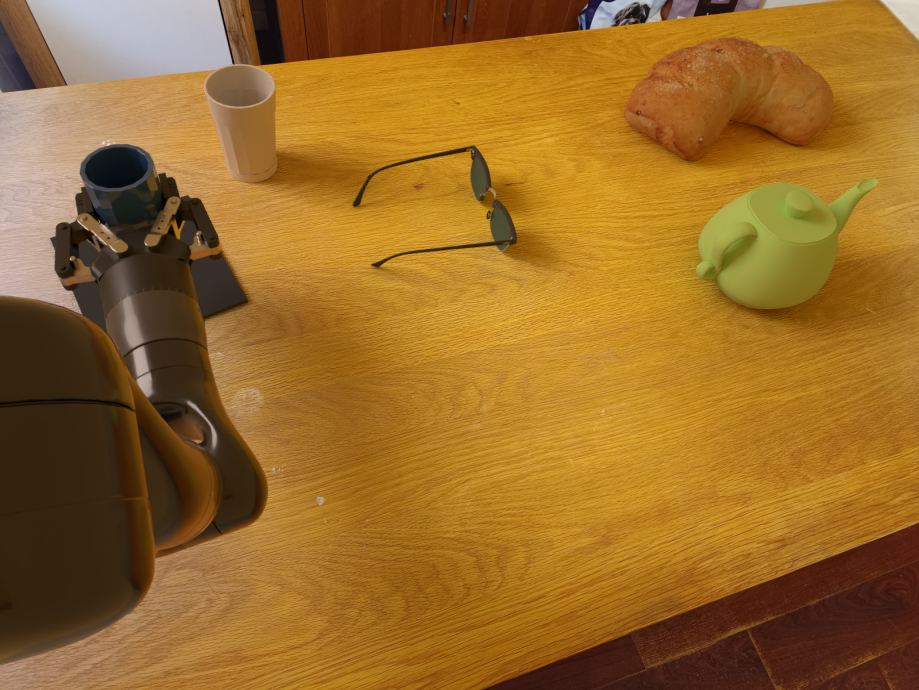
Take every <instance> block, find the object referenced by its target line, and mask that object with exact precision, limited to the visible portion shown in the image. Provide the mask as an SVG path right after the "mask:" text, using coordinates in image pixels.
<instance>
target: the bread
mask: <svg viewBox="0 0 919 690" xmlns="http://www.w3.org/2000/svg"><path fill="white" fill-rule="evenodd" d="M834 99H835V98H834V93H833V91H832V88H831V86H830V84H829V82H828V81H827V80H826V79H825V78H824V76H823V75H822V74H820V73H819V72H818V71H817V70H816V69H814V68H812V66H810V64H805V63H804V62H803V60H802V59H801V58H800V57H799V56H798V55H797V54H795V53H794V52H793V51H790V50H789V49H787V48H784V47H782V46H780V45H779V46H778V45H767V46H761V45H760V44H759V43H758V42H756V41H754V40H751V39H748V38H742V37H740V36H738V37H735V36H734V37H716V38H711V39H710V38H709V39H706V40H703V41H700V42H698V43H696V44H695V45H693V46H688V47H687V46H686V47H683V48H679V49H675V50H674V51H671V52H670V53H668V54H666V55H665V56H663V57H662V58H660V59H658V61H656V62H655V63H654V64H653V65H652V66H651V67H650V69H649V70H648V71H647V72H646V75H645V76H644V78H643V79H642V80H640V81H639V82H637V84H636V85H635V86H634V87H633V88H632V91H631V93H630V95H629V97H628V100H627V102H626V105H625V108H624V118H625V120H626V121H627V123H628V124H629V126H630V127H631V128H633V129H634V130H636V131H639V132H640V133H642V134H645V135H646V136H647V137H649V138H651V139H652V140H654V141H656V142H658V143H660V144H661V145H663V146H664V147H665V148H666V149H668V150H669V151H670V152H671V153H673V154H676V155H678V156H679V157H680V158H681V159H682V160H683V161H686V162H697V161H699V160H700V159H702V158H703V157H704V156H705V155H706V153H707V152H708V151H709V150H710V149H711V148H712V147H713V146H715V145H714V144H715V143H716V142H717V141H718V140H719V138H720V137H721V135H723V132H724V131H725V129H726V127H727V125H728V124H729V122H730V121H735V122H739V123H743V124H747V125H751V126H753V127H756V128H759V129H761V130H763V131H764V132H766V133H767V134H768V135H770V136H772V137H774V138H776V139H778V140H781V141H783V142H785V143H787V144H789V145H793V146H799V147H800V146H805V145H807V144H809V143H810V144H811V142H812V141H814V140H815V139H816V138H817V137H818V136H819V135H820V134H821V133H822V132H823V131H825V130H826V129H827V128H828V127H829V125H830V124H831V122H832V120H833V117H834V109H833V105H834Z"/></svg>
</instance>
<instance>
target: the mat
mask: <svg viewBox="0 0 919 690" xmlns="http://www.w3.org/2000/svg"><path fill="white" fill-rule="evenodd" d="M180 198H181V199H182V200H184V201H189V200H190V199H191V197H190V195H189V194H185V195H183V196H180ZM196 232H197V229H196V227H195V224H194V222H193V221H185V223H184V225H183V227H182V230H181V232H180V240H181V241H182V242H184V243H186V244H187V245H188V246H191V245H192V244H193V243H194V236H195V235H197V234H196ZM49 240H50V242H51V244H52V247H53V249H54V250H55V236H50V238H49ZM98 253H99V252H98V250H97V249H96V248H95V247H94V246H93V245H91V244H90V243H89V242H88V241H87V240H85V241H83V242H80V243H79V259H81V260H82V262H83V264H84V265H85V266H88V267H90V265H91V263H92V261H93V260H94V259H95V257H96V256H97V255H98ZM190 271H191V275H192V279H193V282H194V286H195V290H196V294H197V298H198V302H199V306H200V310H201V314H202V316H203V319H204V320H205V319H206V318H209V317H211V316H215V315H217V314H220V313H222V312H225V311H227V310H230V309H232V308H233V309H234V308H236V307H238V306H240V305H243V304H244V305H245V304H246V303H248V302H249V300H248V298H247V296H246V294H245V293H244V291H243V289H242V287H241V285H240V283H239V282H238V280H237V278H236V276H235V275H234V273H233V271H232V269H231V268H230V266H229V264H228V263H227V261H226V259H225V257H224V256H223V254H222V257H221V258H220V259H219V260H212V259H210V257H209V256H205V257H202V258H199V259H195V260H193V264H192V266H191V270H190ZM71 292H72V293H73V296H74V298H75V301H76V303H77V305H78V309H79V310H80V312H81V313H80V314H82V315H84V316H86V317H88V318H89V319H91V320H92V321H94V322H95V323H97V324H98V325H99V326H101V327H102V328H103V329H104V330H105V331H106V332H107V329H106V323H105V317H104V311H103V305H102V299H101V294H100V288H99V285H97V284H96V283H95V281H90V282H82V283H79V286H78V287H77V288H76V289H75V290H72V291H71Z"/></svg>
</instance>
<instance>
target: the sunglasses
mask: <svg viewBox="0 0 919 690" xmlns="http://www.w3.org/2000/svg"><path fill="white" fill-rule="evenodd" d="M468 152H470V159H471V166H470V173H469V177H470V178H469V181H470V186H471V190H472V192H473V196H474V198H475V200H476V202H477V203H482V202H484V200H485V198H486V196H487V193H488V192H491V193H492V194H493V196H494V197H493V200H492V204H491V207H492V211H491V210H487V213H486V215H485V218H486V219H487V220H489V230H490V234H491V238H492V239H493V241H485V242H477V243H467V244H459V245H458V244H457V245H450V246H440V247H433V248H432V247H431V248H425V249H424V248H422V249H415V250H410V251H404V252H403V251H402V252H399V253H396V254H392V255H390V256H388V257H386V258H383V259H380V260H378V261H376V262H373V263H371V264H370V266H371V267H375V268H380V267H381V266H383V265H384V264H385V263H387V262H388V261H390V260H392V259H394V258H397V257H402V256H405V255H413V254H414V255H415V254H421V253H433V252H444V251H453V250H463V249H465V250H466V249H476V248H485V247H496V248H497V250H499V252H505V251H506V250H507V249H508V248H509V247H511V246H514V245H515V244H517V242H518V235H517V230H516V227H515V223H514V221H513V219H512V216H511V213H510V212H509V211H508V209H507V207H506V206H505V205H504V204H503V202H502V201H500V200H499V199H498V198H496V197H497V193H496V190H495V189H494V188H492V187H493V186H492V177H491V173H490V168H489V165H488V163H487V161H486V159H485V157H484V156H483V154H482V153H481V151H480V150H479V148H478V147H477V146H476V145H468V146H464V147H459V148H455V149H450V150H449V149H448V150H445V151H444V150H443V151H440V152H434V153H430V154H427V155H422V156H418V157H413V158H409V159H405V160H401V161H397V162H393V163H391V164H388V165H385V166H381V167H380V168H378V169H376V170H374V171H372V172H371V173H370V174H369V175H368V176H367V178H366V179H365V181H364V183H363V184H362V186H361V188H360V189H359V191H358V193H357V195H356V197H355V198H354V200H353V202H352V207H353V208H357V207H359V206H360V205H361V204H362V199H363V196H364V193H365V191H366V188H367V186H368V185H369V183H370V182H371V180H372V179H373V177H374V176H375V175H377V174H378V173H380V172H382V171H385V170H388V169H391V168H395V167H399V166H403V165H408V164H411V163H416V162H421V161H426V160H430V159H431V160H432V159H436V158H441V157H446V156H451V155H457V154H463V153H468Z"/></svg>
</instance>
